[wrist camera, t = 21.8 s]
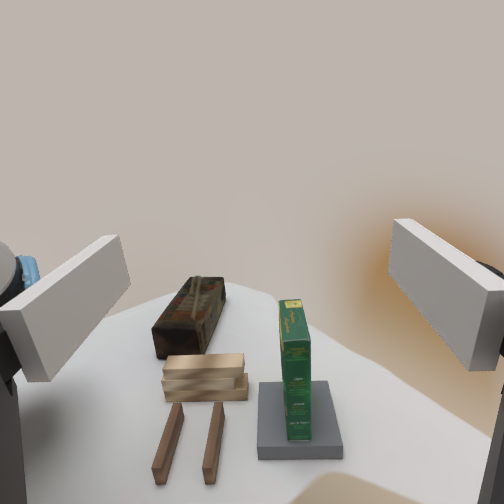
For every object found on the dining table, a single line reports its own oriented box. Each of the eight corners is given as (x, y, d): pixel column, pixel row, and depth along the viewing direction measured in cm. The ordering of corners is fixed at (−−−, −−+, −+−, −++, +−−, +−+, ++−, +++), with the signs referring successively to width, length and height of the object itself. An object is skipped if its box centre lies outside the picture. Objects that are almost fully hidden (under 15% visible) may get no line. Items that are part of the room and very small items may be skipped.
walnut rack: (156, 484, 32) (151, 468, 31) (176, 417, 40) (173, 403, 39) (215, 484, 32) (211, 467, 31) (224, 416, 39) (222, 401, 38)
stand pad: (258, 459, 34) (257, 446, 33) (260, 393, 42) (259, 382, 42) (342, 458, 33) (342, 445, 33) (327, 392, 42) (327, 380, 41)
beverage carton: (228, 300, 67) (225, 272, 64) (202, 364, 49) (196, 329, 47) (192, 300, 68) (188, 273, 65) (155, 362, 50) (146, 328, 48)
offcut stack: (165, 402, 42) (158, 370, 40) (171, 384, 45) (165, 354, 43) (247, 400, 42) (243, 368, 40) (248, 382, 44) (245, 352, 42)
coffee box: (282, 384, 41) (277, 297, 36) (304, 384, 41) (302, 296, 36) (285, 442, 33) (280, 342, 29) (312, 442, 33) (311, 341, 28)
